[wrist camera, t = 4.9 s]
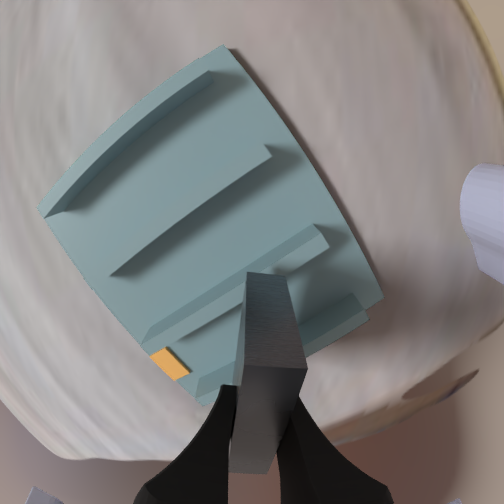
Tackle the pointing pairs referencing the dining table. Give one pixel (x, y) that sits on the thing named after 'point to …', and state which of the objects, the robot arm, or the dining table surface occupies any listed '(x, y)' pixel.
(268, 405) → the panel
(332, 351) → the dining table surface
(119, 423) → the dining table surface
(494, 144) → the dining table surface
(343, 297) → the slot rack
